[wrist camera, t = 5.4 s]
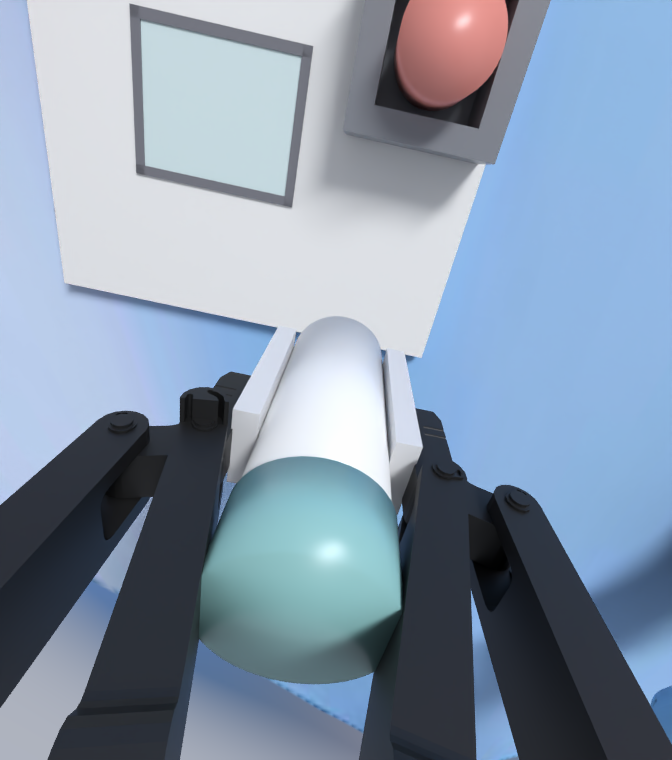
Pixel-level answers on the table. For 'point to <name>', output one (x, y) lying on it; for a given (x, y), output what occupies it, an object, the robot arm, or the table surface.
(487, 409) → the table surface
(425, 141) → the button housing
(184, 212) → the sheet
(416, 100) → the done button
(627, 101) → the table surface
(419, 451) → the robot arm
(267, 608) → the marker
